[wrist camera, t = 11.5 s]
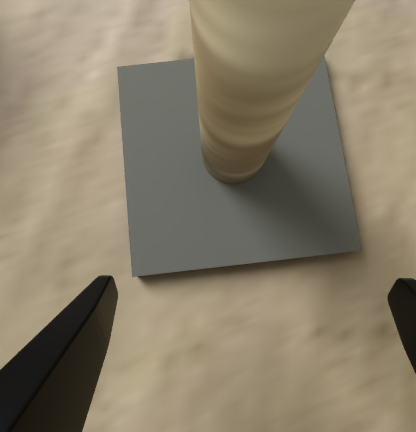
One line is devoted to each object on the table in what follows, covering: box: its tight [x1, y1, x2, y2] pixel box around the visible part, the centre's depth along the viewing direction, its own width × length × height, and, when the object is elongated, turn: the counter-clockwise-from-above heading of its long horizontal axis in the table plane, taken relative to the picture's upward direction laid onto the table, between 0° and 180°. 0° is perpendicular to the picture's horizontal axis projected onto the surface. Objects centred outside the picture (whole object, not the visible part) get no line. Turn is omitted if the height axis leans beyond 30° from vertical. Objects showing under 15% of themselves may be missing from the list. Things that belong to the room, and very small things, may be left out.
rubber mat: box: [117, 57, 362, 277], centre depth 19 cm, size 14×14×1 cm
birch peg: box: [190, 0, 355, 184], centre depth 12 cm, size 4×4×12 cm
